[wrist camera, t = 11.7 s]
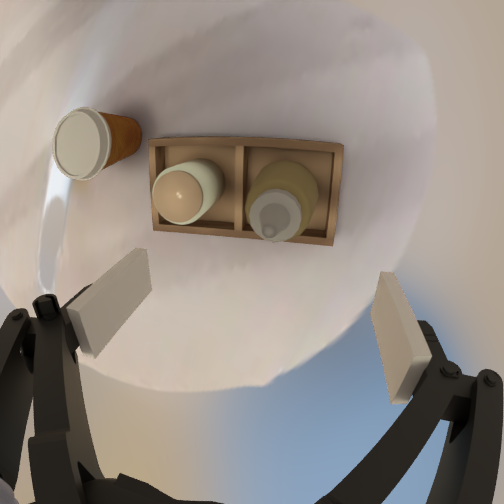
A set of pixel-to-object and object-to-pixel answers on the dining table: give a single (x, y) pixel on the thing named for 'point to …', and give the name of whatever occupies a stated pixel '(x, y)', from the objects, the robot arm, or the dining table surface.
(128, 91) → the dining table surface
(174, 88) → the dining table surface
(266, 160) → the caddy
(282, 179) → the squeeze bottle
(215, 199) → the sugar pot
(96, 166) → the disposable coffee cup
